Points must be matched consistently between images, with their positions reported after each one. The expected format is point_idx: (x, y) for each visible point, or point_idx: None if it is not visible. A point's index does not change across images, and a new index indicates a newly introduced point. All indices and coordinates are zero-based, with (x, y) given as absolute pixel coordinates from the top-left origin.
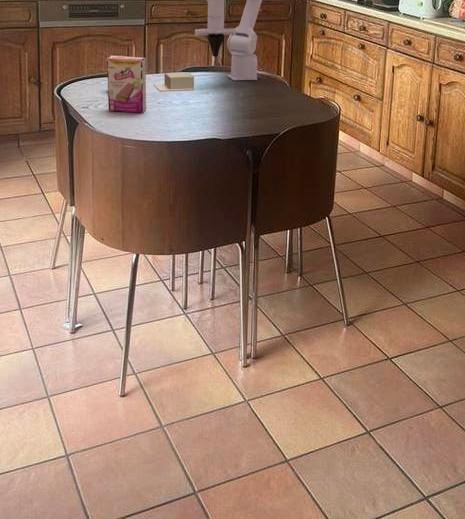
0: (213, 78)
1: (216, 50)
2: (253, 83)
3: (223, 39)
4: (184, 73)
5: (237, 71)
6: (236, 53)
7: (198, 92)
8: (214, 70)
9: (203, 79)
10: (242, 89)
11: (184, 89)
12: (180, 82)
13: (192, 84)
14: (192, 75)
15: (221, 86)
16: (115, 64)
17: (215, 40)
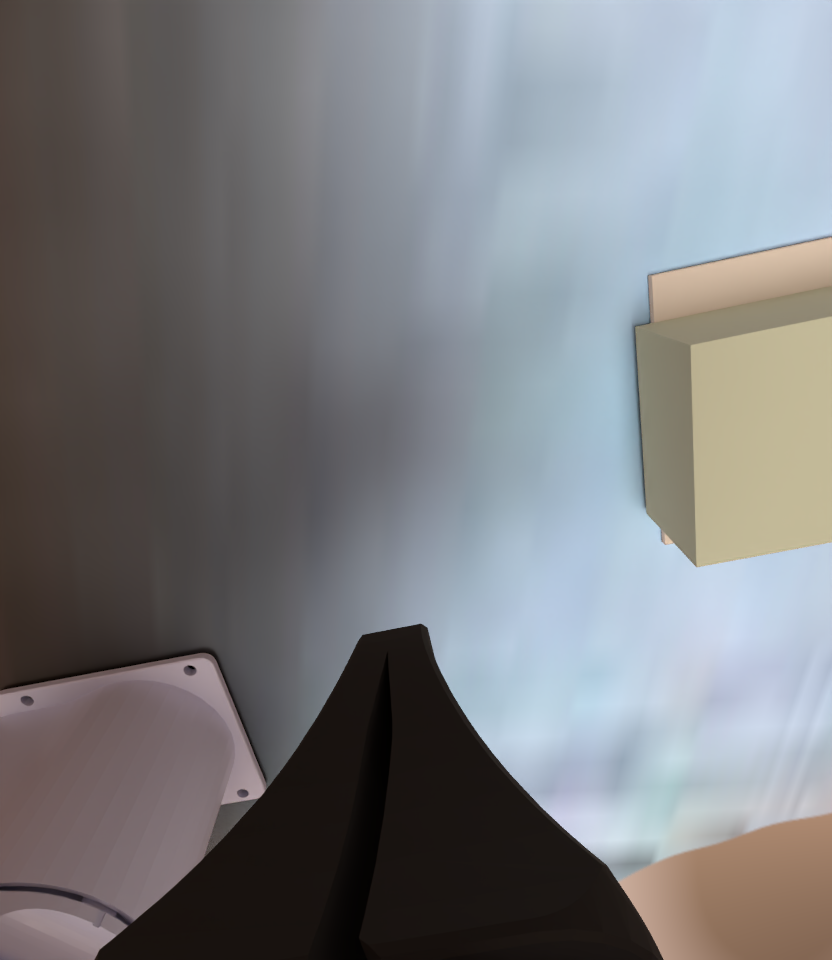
0: None
1: (381, 704)
2: (21, 574)
3: (121, 939)
4: (761, 517)
5: (152, 737)
6: (85, 945)
7: (611, 158)
8: None
9: (478, 690)
10: (112, 321)
11: (750, 256)
12: (827, 302)
13: (667, 328)
14: (692, 417)
15: (334, 447)
16: None
17: (425, 866)
